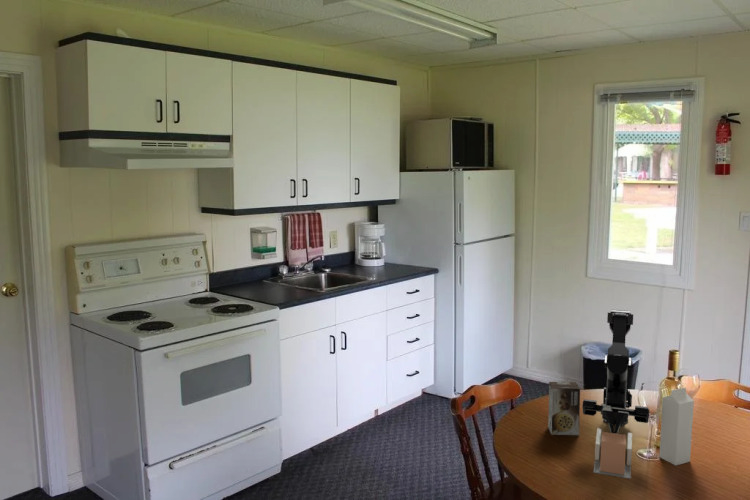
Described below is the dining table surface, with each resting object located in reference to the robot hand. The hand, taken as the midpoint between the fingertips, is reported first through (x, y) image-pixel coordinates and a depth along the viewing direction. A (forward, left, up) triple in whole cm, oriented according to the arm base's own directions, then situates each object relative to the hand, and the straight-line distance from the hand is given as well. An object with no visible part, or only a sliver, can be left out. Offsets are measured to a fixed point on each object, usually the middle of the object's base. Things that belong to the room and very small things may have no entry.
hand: (613, 437), depth 185 cm
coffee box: (-11, -21, -8) cm, 25 cm away
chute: (-1, -1, -8) cm, 8 cm away
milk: (-14, +13, -8) cm, 21 cm away
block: (+4, +1, -8) cm, 9 cm away
